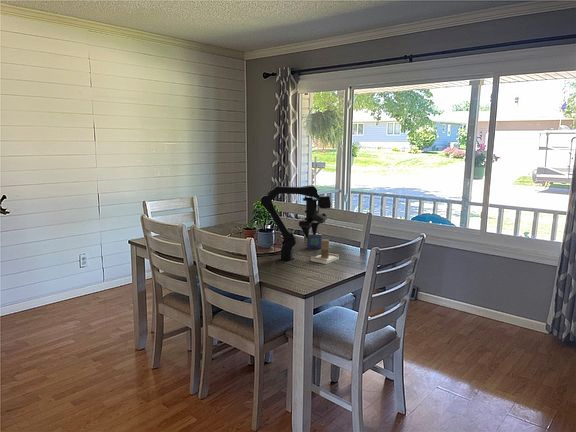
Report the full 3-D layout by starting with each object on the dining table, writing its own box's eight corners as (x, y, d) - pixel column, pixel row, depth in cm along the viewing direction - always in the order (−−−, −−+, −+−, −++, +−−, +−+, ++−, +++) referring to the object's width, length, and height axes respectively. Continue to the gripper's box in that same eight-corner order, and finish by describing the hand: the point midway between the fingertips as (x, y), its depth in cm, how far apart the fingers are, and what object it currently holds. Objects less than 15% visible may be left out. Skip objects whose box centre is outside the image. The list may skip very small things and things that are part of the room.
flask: (322, 247, 266) (322, 230, 264) (322, 249, 263) (322, 232, 261) (307, 247, 267) (307, 230, 265) (307, 248, 264) (307, 231, 262)
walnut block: (328, 258, 238) (328, 240, 236) (321, 258, 238) (321, 240, 237) (328, 256, 242) (329, 239, 240) (321, 256, 242) (321, 238, 240)
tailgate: (325, 264, 232) (325, 259, 232) (309, 260, 239) (309, 256, 238) (338, 258, 242) (338, 254, 242) (322, 255, 249) (322, 251, 248)
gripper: (317, 212, 225) (316, 241, 227) (331, 207, 241) (330, 234, 243) (298, 210, 230) (298, 239, 233) (313, 205, 246) (313, 232, 249)
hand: (310, 236), depth 239 cm, fingers open, 9 cm apart
